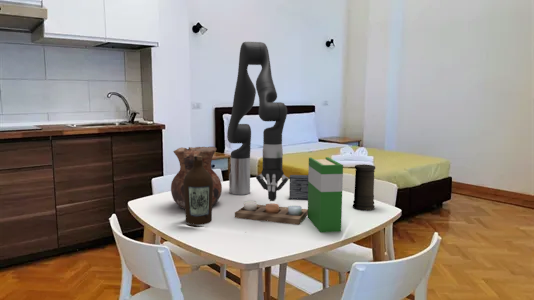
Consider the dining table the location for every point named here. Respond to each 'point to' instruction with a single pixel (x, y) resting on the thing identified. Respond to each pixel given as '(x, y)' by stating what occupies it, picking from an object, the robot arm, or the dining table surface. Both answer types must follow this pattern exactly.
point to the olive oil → (198, 194)
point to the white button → (250, 206)
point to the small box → (298, 187)
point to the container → (364, 187)
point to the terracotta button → (272, 208)
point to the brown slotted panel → (271, 215)
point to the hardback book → (325, 194)
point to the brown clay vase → (186, 165)
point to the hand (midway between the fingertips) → (272, 200)
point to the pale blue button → (295, 210)
